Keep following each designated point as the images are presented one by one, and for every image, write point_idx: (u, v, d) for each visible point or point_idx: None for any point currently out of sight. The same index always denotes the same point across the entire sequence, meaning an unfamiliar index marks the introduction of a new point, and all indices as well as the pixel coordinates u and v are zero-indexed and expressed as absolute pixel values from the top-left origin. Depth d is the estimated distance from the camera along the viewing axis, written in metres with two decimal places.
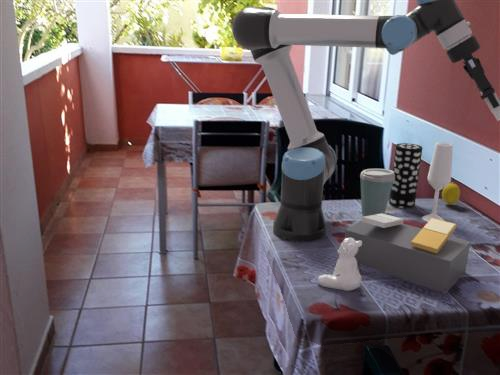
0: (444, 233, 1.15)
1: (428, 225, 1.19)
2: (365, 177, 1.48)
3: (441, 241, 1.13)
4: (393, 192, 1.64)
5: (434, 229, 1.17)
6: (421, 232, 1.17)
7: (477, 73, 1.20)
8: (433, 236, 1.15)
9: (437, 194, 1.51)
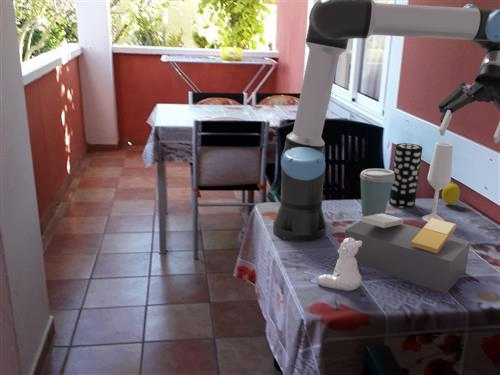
0: (444, 233, 1.15)
1: (428, 225, 1.19)
2: (365, 177, 1.48)
3: (441, 241, 1.13)
4: (393, 192, 1.64)
5: (434, 229, 1.17)
6: (421, 232, 1.17)
7: None
8: (433, 236, 1.15)
9: (437, 194, 1.51)
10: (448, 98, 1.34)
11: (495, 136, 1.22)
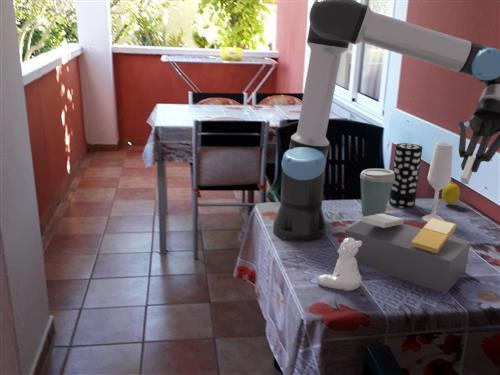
0: (444, 233, 1.15)
1: (428, 225, 1.19)
2: (365, 177, 1.48)
3: (441, 241, 1.13)
4: (393, 192, 1.64)
5: (434, 229, 1.17)
6: (421, 232, 1.17)
7: None
8: (433, 236, 1.15)
9: (437, 194, 1.51)
10: (461, 141, 1.28)
11: (465, 177, 1.22)
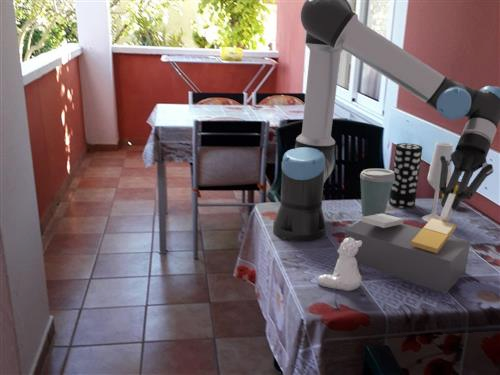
0: (444, 233, 1.15)
1: (428, 225, 1.19)
2: (365, 177, 1.48)
3: (441, 241, 1.13)
4: (393, 192, 1.64)
5: (434, 229, 1.17)
6: (421, 232, 1.17)
7: (482, 179, 1.20)
8: (433, 236, 1.15)
9: (437, 194, 1.51)
10: (442, 177, 1.24)
11: (445, 216, 1.19)
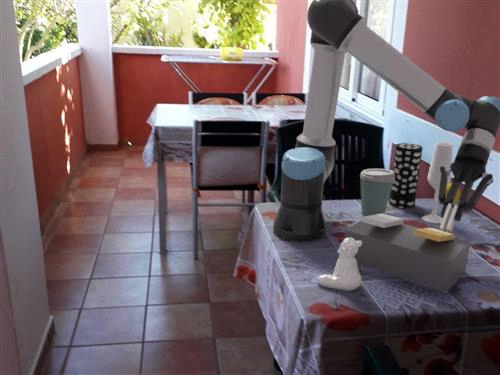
0: (445, 234, 1.16)
1: (428, 228, 1.19)
2: (365, 177, 1.48)
3: (443, 235, 1.13)
4: (393, 192, 1.64)
5: (435, 230, 1.18)
6: (422, 229, 1.17)
7: (483, 189, 1.21)
8: (434, 232, 1.15)
9: (437, 194, 1.51)
10: (441, 187, 1.25)
11: (448, 227, 1.19)
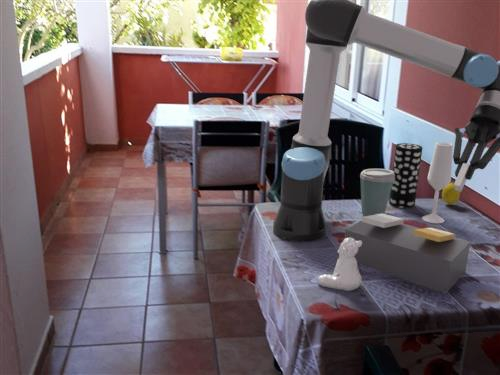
0: (445, 234, 1.16)
1: (428, 228, 1.19)
2: (365, 177, 1.48)
3: (443, 235, 1.13)
4: (393, 192, 1.64)
5: (435, 230, 1.18)
6: (422, 229, 1.17)
7: (496, 149, 1.22)
8: (434, 232, 1.15)
9: (437, 194, 1.51)
10: (456, 147, 1.26)
11: (458, 185, 1.20)
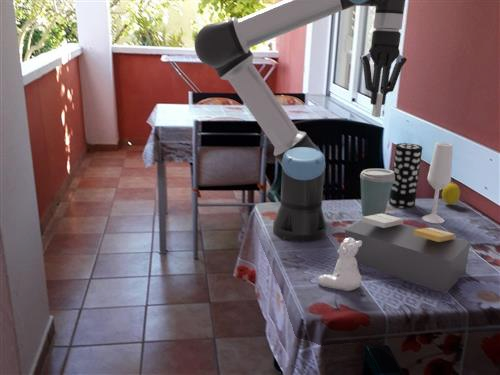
0: (445, 234, 1.16)
1: (428, 228, 1.19)
2: (365, 177, 1.48)
3: (443, 235, 1.13)
4: (393, 192, 1.64)
5: (435, 230, 1.18)
6: (422, 229, 1.17)
7: None
8: (434, 232, 1.15)
9: (437, 194, 1.51)
10: (369, 78, 1.38)
11: (378, 116, 1.41)
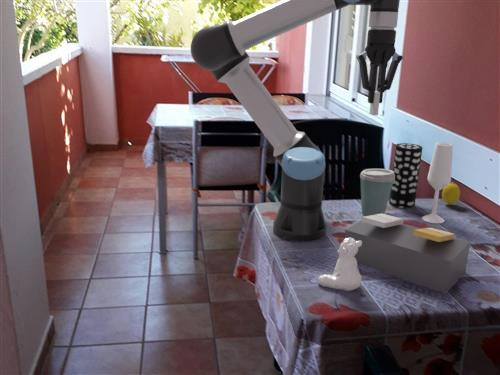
0: (445, 234, 1.16)
1: (428, 228, 1.19)
2: (365, 177, 1.48)
3: (443, 235, 1.13)
4: (393, 192, 1.64)
5: (435, 230, 1.18)
6: (422, 229, 1.17)
7: None
8: (434, 232, 1.15)
9: (437, 194, 1.51)
10: (366, 77, 1.38)
11: (376, 114, 1.42)
